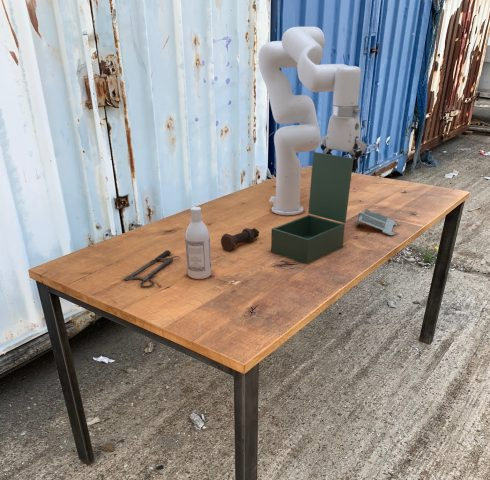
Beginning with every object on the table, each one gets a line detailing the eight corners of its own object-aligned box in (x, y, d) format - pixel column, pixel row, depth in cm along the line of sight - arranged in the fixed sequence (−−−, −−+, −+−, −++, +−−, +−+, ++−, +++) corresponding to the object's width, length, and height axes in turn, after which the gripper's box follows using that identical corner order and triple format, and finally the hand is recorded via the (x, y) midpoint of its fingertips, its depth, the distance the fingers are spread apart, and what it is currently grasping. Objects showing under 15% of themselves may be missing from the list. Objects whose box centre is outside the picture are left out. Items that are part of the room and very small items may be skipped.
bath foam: (199, 267, 152) (195, 202, 142) (216, 273, 148) (213, 207, 138) (183, 275, 148) (177, 208, 138) (199, 281, 144) (195, 213, 134)
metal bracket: (357, 216, 174) (362, 204, 186) (350, 231, 177) (356, 218, 190) (396, 231, 172) (399, 218, 184) (389, 246, 175) (393, 232, 188)
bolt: (257, 243, 174) (228, 254, 164) (248, 233, 175) (218, 244, 166) (264, 231, 170) (234, 241, 160) (255, 221, 171) (224, 231, 162)
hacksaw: (166, 253, 163) (166, 248, 162) (194, 258, 159) (193, 253, 158) (119, 282, 144) (118, 277, 144) (148, 288, 140) (148, 283, 140)
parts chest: (306, 264, 154) (308, 239, 150) (271, 251, 163) (271, 228, 159) (342, 247, 166) (344, 224, 162) (307, 236, 174) (308, 214, 171)
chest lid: (352, 158, 152) (361, 156, 155) (313, 152, 161) (323, 150, 164) (344, 223, 161) (353, 220, 165) (308, 213, 170) (317, 210, 173)
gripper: (376, 112, 150) (369, 171, 159) (328, 108, 161) (325, 163, 169) (362, 115, 146) (356, 175, 154) (314, 110, 156) (311, 166, 165)
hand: (340, 168), depth 162 cm, fingers open, 9 cm apart
